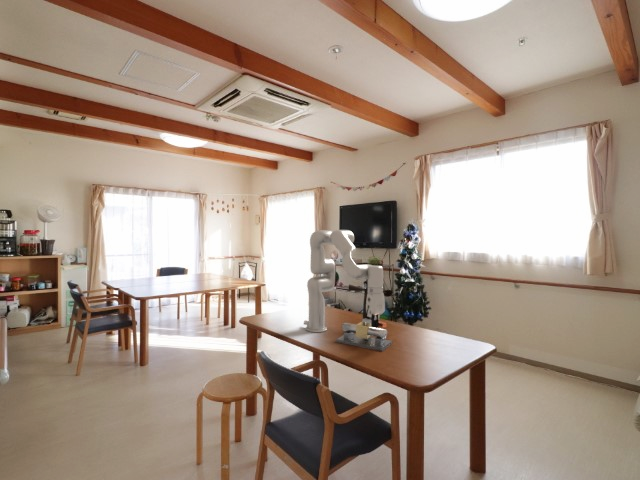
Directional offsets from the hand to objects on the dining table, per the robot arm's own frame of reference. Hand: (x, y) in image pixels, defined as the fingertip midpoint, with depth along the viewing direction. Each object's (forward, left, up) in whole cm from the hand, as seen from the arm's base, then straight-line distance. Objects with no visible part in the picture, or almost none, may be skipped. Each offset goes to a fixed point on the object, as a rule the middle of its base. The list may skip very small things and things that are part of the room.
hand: (374, 327), depth 168 cm
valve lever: (-3, +4, -1) cm, 5 cm away
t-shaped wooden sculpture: (-19, +36, -11) cm, 42 cm away
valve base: (-9, +6, -11) cm, 15 cm away
